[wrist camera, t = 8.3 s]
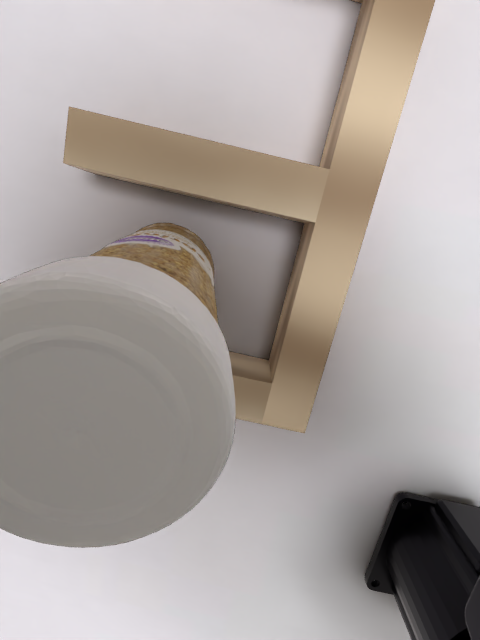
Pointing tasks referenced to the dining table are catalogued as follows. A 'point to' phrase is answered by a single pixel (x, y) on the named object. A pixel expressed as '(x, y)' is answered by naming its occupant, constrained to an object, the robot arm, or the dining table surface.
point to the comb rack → (286, 198)
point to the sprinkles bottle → (112, 391)
